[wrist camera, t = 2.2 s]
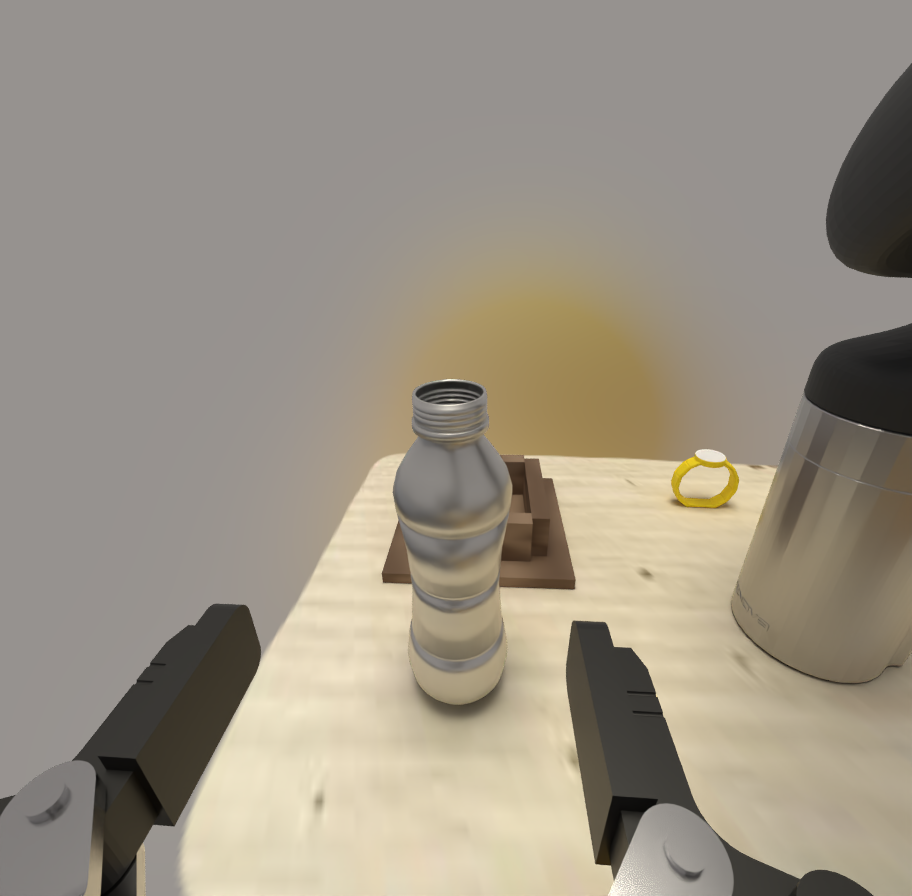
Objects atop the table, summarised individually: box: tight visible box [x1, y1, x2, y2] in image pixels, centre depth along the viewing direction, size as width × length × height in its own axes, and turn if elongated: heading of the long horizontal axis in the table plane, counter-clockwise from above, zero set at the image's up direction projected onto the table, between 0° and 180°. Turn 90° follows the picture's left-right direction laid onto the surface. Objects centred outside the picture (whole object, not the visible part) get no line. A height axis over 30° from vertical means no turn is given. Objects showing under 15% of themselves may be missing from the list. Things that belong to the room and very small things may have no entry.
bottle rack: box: [382, 455, 575, 589], centre depth 43 cm, size 16×16×5 cm
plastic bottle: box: [393, 379, 512, 705], centre depth 26 cm, size 6×7×20 cm
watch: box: [671, 449, 739, 508], centre depth 46 cm, size 6×3×6 cm, turn 83°
